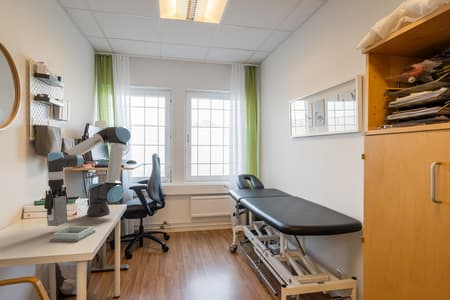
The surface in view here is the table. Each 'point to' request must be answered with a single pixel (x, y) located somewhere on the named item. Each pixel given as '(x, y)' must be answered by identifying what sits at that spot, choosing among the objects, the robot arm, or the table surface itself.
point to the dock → (72, 234)
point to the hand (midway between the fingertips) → (57, 217)
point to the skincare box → (58, 211)
